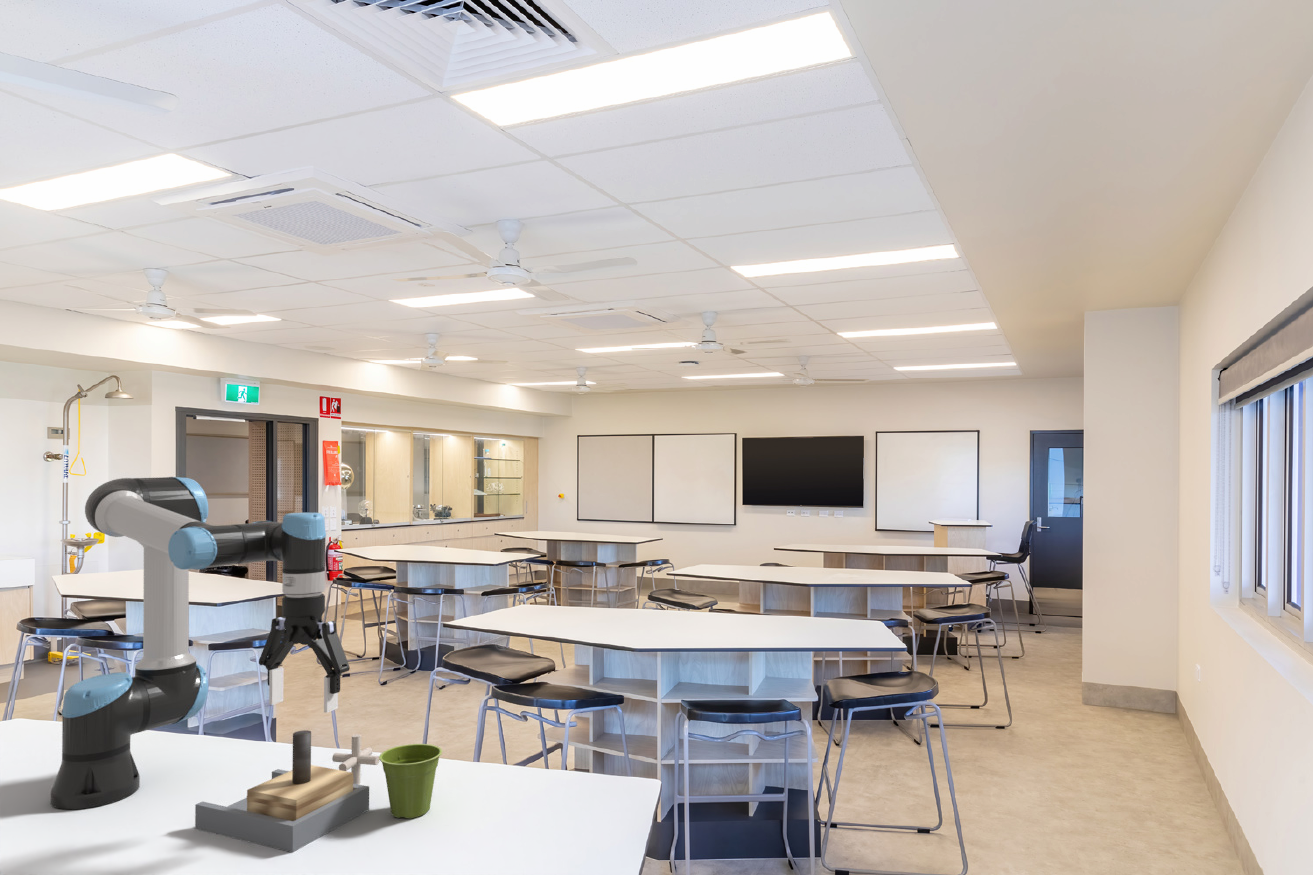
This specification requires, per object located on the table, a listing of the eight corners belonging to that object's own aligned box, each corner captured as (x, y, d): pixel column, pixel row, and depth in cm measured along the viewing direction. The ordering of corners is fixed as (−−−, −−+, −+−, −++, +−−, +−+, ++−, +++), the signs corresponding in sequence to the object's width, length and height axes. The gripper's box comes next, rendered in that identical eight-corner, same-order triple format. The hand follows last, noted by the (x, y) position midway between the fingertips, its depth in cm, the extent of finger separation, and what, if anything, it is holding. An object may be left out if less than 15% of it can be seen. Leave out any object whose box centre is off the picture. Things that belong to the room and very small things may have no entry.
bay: (195, 828, 154) (195, 804, 154) (277, 790, 171) (277, 769, 171) (292, 852, 144) (292, 826, 145) (369, 809, 162) (369, 786, 162)
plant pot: (454, 806, 164) (454, 748, 164) (410, 829, 153) (411, 768, 154) (410, 794, 169) (410, 739, 170) (365, 816, 159) (365, 757, 159)
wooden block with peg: (246, 822, 152) (247, 740, 152) (305, 794, 165) (306, 718, 165) (296, 834, 147) (297, 749, 148) (353, 803, 160) (353, 725, 161)
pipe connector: (364, 794, 169) (364, 745, 170) (320, 790, 171) (321, 741, 172) (389, 775, 179) (389, 729, 180) (347, 772, 181) (348, 726, 182)
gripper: (239, 593, 159) (238, 705, 158) (340, 600, 149) (339, 719, 148) (270, 588, 166) (270, 694, 165) (369, 594, 156) (369, 708, 155)
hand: (303, 706), depth 157 cm, fingers open, 13 cm apart
